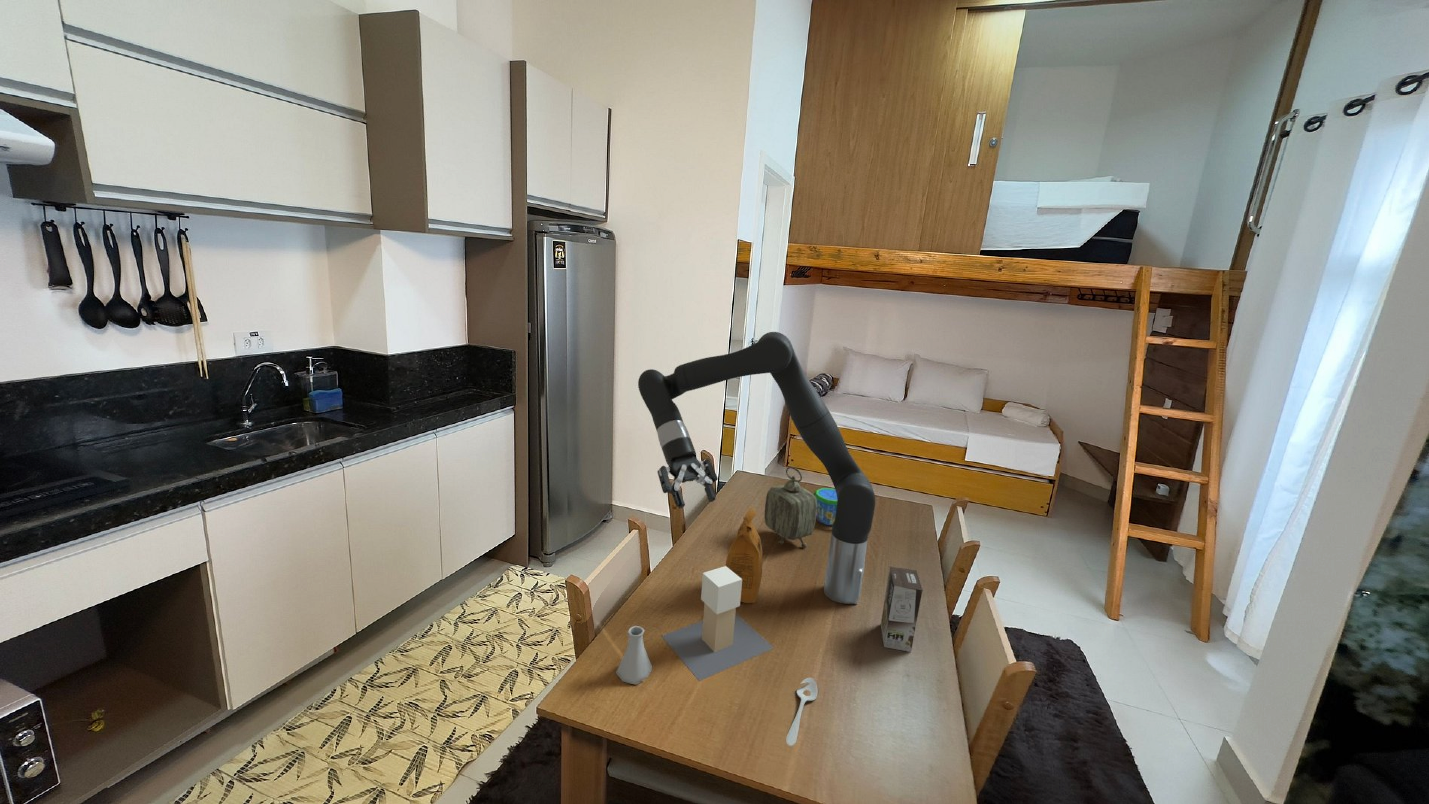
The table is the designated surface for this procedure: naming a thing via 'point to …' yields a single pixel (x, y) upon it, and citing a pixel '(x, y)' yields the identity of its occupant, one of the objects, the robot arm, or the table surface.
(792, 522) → the tabletop clock
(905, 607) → the coffee box
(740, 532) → the coffee package
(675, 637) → the mat
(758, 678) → the table surface
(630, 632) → the flask
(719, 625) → the beige tall block
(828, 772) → the table surface
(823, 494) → the snack cup
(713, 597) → the white cube block
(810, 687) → the spoon
